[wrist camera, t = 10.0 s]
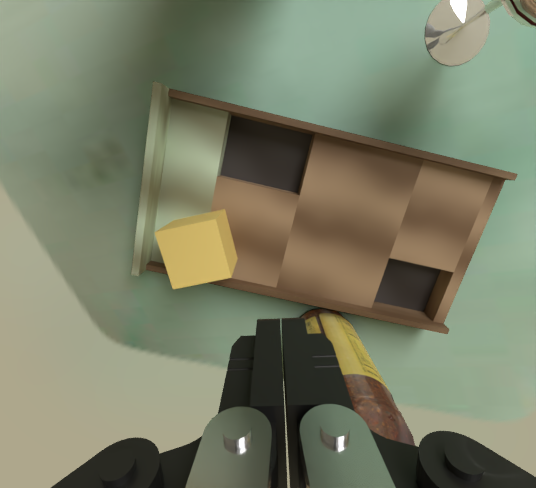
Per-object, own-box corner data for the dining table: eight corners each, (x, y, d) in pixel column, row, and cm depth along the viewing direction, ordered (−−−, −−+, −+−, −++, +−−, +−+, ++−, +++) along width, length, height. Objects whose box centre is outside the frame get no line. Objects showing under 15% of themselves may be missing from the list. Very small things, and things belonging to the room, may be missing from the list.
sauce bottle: (298, 364, 32) (341, 669, 13) (284, 312, 30) (307, 573, 11) (360, 350, 31) (500, 647, 12) (348, 297, 30) (488, 542, 11)
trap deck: (173, 94, 25) (153, 81, 21) (490, 172, 27) (533, 175, 22) (152, 257, 29) (131, 274, 25) (430, 317, 30) (457, 343, 26)
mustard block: (173, 220, 26) (154, 232, 22) (224, 209, 26) (215, 219, 21) (188, 268, 27) (173, 289, 23) (237, 258, 27) (231, 277, 22)
